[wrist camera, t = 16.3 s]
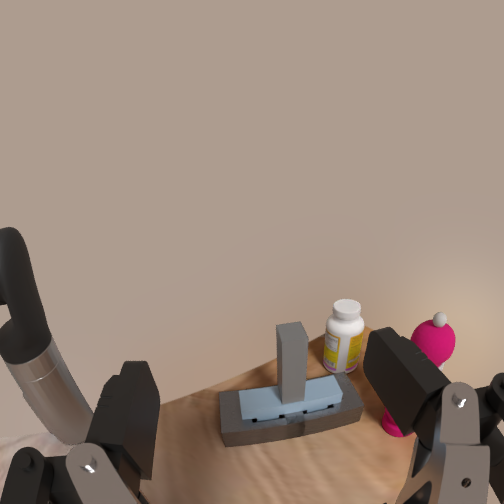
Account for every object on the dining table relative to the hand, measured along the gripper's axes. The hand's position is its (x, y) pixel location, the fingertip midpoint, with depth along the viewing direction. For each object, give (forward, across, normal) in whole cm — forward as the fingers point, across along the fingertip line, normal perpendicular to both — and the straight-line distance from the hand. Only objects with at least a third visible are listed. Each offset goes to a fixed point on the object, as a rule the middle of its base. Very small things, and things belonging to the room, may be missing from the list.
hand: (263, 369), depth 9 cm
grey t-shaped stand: (+18, -6, +29) cm, 35 cm away
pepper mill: (+11, -22, +29) cm, 38 cm away
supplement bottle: (+28, -18, +30) cm, 45 cm away
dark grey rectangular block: (+18, -6, +29) cm, 35 cm away
